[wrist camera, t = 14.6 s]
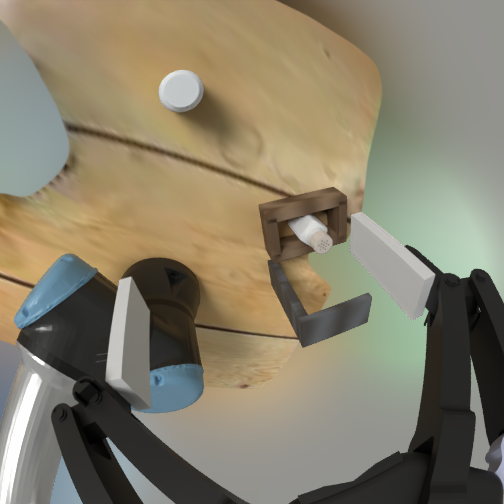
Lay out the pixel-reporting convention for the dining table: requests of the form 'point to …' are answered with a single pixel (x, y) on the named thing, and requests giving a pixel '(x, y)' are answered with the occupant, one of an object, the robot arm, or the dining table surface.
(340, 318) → the brown and grey frame
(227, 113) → the dining table surface
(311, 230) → the pepper shaker
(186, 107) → the supplement bottle
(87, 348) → the robot arm
